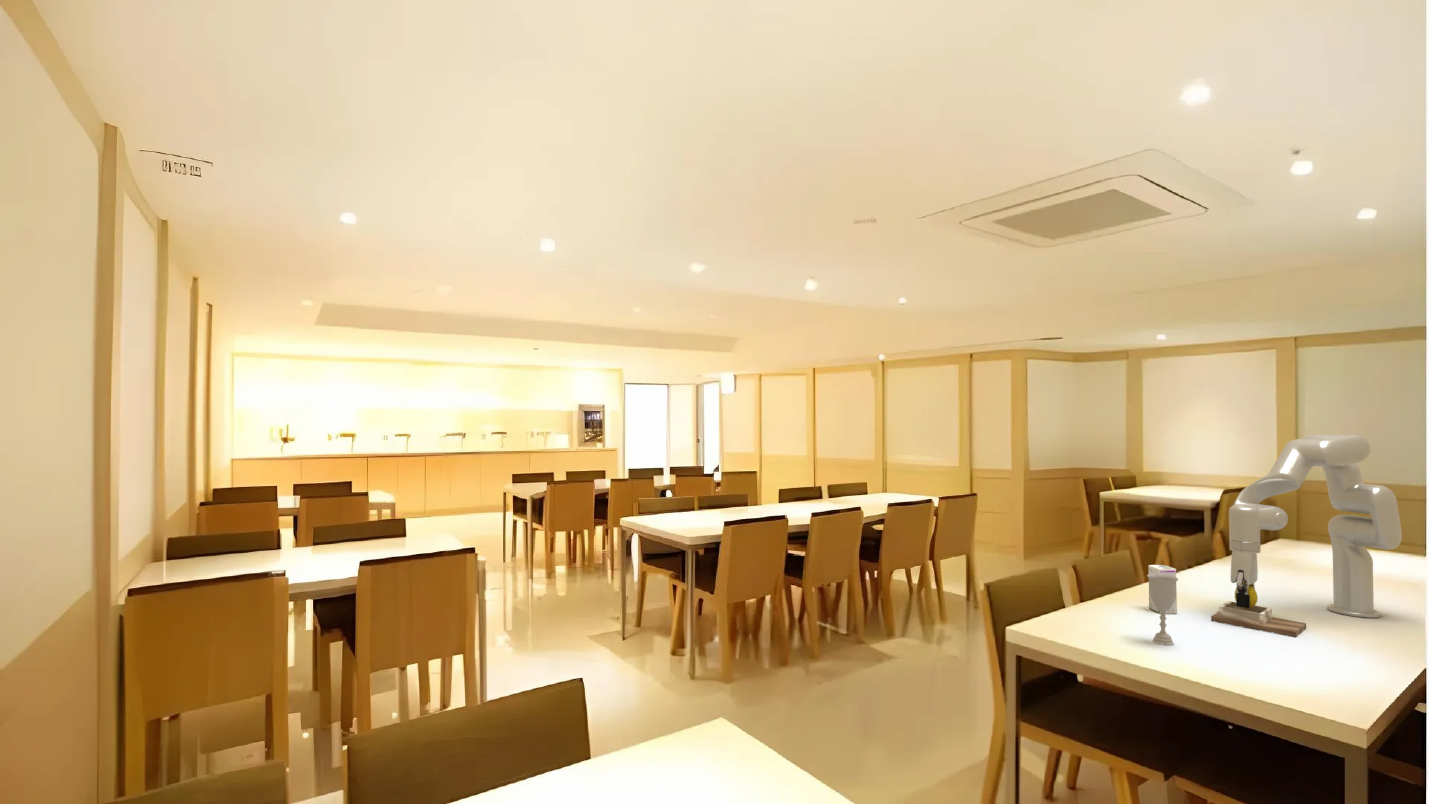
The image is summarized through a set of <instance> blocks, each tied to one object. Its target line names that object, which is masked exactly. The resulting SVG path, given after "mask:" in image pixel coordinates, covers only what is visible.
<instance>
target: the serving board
mask: <svg viewBox="0 0 1429 804" xmlns="http://www.w3.org/2000/svg"><path fill="white" fill-rule="evenodd" d="M1218 607H1219V611H1217V612H1216V613H1214V614H1212V615H1211V616H1210V619H1211V620H1210V622H1214V621H1215V623H1220V624H1225V623H1226V624H1225V625H1230V626H1236V627H1240V626H1243V627H1242V628H1245V627H1246V629H1250V628H1251V629H1250V630H1255V629H1258V630H1257V631H1260V630H1263V631H1262V632H1266V631H1267V633H1271V632H1274V633H1273V634H1276V633H1278V634H1277V635H1282V636H1286V635H1288V636H1287V637H1293V638H1297V637H1298V636H1299V635H1300V634H1302V633H1303V632H1304V631H1305V630H1306V629H1307V623H1306V622H1300V621H1296V620H1291V619H1286V618H1285V619H1283V618H1279V617H1274V616H1273V615H1272V614H1273V608H1271V607H1265V606H1260V605H1255V606H1253V607H1251V608H1249V609H1247V610H1246V609H1244V608H1243V607H1238V606H1237V605H1236V601H1233V600H1232V601H1230V600H1229V601H1227V602H1225V603H1223V604H1221V605H1220V606H1218Z"/></svg>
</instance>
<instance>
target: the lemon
mask: <svg viewBox="0 0 1429 804" xmlns="http://www.w3.org/2000/svg"><path fill="white" fill-rule="evenodd" d="M1244 584H1246V583H1244ZM1243 587H1245V589H1246V586H1243ZM1248 595H1250V608H1251V607H1253V606H1257V603H1258V593H1257V591H1256V588H1255V589H1254V588H1253V587H1251V586H1250V585H1249V591H1248ZM1234 599H1235V601H1236V589H1235V590H1234ZM1243 608H1244V607H1243ZM1244 609H1246V610H1247V609H1249V608H1244Z"/></svg>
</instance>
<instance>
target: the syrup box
mask: <svg viewBox="0 0 1429 804" xmlns="http://www.w3.org/2000/svg"><path fill="white" fill-rule="evenodd" d="M1149 574H1160V575H1168V576H1173V577H1176V578H1177V569H1176V568H1174V567H1172V566H1168V565H1166V564H1165V565H1164V564H1149V565H1148V575H1149ZM1177 592H1178V591H1177V589H1176V598H1175V601H1174V603H1173V604H1172V606H1171V608H1170V609H1169V610H1168V611H1165V615H1177V614H1178V602H1177V601H1178V600H1177V597H1178V596H1177V595H1178V593H1177ZM1148 606H1149V607H1148V609H1149V610H1151V611H1153V612H1155V613H1158V614H1161V611H1160V610H1158V609H1157V608H1156V606H1155V604H1154V603H1153V601H1152V598H1151V596H1150V593H1149V592H1148Z"/></svg>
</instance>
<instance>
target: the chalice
mask: <svg viewBox="0 0 1429 804" xmlns="http://www.w3.org/2000/svg"><path fill="white" fill-rule="evenodd" d="M1146 577H1147V578H1148V594H1149V593H1150V596H1151V598H1152V601H1153V603H1154V604H1155V606H1156V608H1157V609H1158V610H1160V611H1161V613H1160V616H1159V619H1160V622H1159V624H1158V625H1159V627H1160V630H1159V632H1156V633H1155V634H1154V636H1153V639H1152V640H1151V641H1152V642H1153V641H1154V642H1153V643H1155V642H1156V643H1155V644H1157V643H1158V645H1161V644H1166V645H1165V646H1173V645H1172V644H1174V645H1175V643H1174V641H1173V639H1172V636H1171V635H1170V634H1169V633H1167V631H1166V627H1167V623H1166V620H1167V617H1166V614H1165V611H1168V610H1169V609H1170V608H1171V606H1172V604H1173V603H1174V601H1175V598H1176V590H1177V582H1178V580H1179V578H1178V577H1177V576H1176V577H1173V576H1168V575H1160V574H1149V573H1148V574H1147V575H1146Z"/></svg>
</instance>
